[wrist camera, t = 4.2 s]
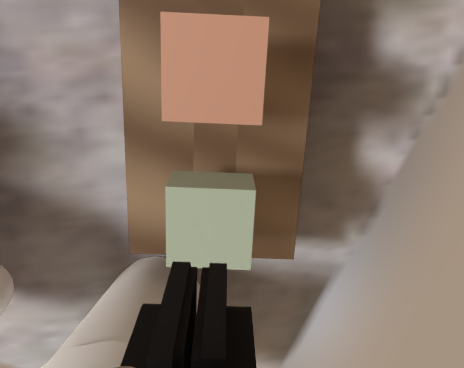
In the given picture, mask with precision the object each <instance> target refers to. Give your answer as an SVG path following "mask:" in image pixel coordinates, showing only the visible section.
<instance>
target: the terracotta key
mask: <svg viewBox="0 0 464 368" xmlns="http://www.w3.org/2000/svg"><path fill="white" fill-rule="evenodd" d="M160 22H161V106H162V121H171V122H194V123H217V124H240V125H262V118H263V103H264V89H265V74H266V60H267V45H268V30H269V17H260V16H239V15H219V14H198V13H178V12H160Z"/></svg>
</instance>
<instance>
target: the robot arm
mask: <svg viewBox="0 0 464 368" xmlns="http://www.w3.org/2000/svg"><path fill="white" fill-rule="evenodd" d="M226 299H227V263H210V264H209V267H203V268H202V275H201V283H200V291H199V298H198V306H197V267H191V262H175V261H173V262H172V266H171V269H170V273H169V277H168V280H167V284H166V287H165V291H164V295H163V298H162V302H161V304H145V303H144V304H142V306H141V309H140V311H139V314H138V317H137V320H136V323H135V326H134V328H133V331H132V334H131V337H130V340H129V343H128V345H127V348H126V351H125V354H124V357H123V360H122V362H121V365H120V367H115V368H256V358H255V346H254V335H253V323H252V312H251V307H233V306H226ZM196 311H197V314H196Z"/></svg>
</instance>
